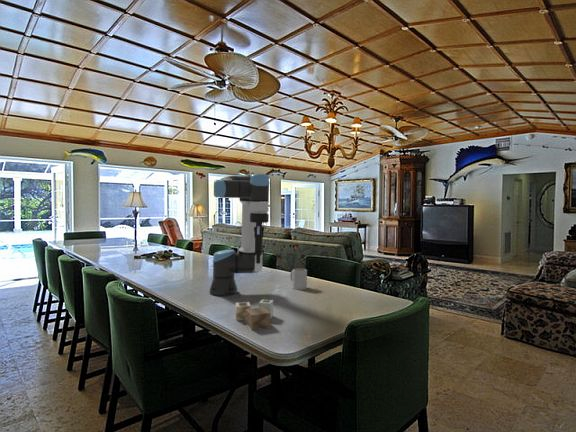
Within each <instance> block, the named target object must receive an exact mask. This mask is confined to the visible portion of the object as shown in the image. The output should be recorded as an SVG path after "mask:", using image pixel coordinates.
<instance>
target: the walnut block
mask: <svg viewBox="0 0 576 432" xmlns="http://www.w3.org/2000/svg"><path fill="white" fill-rule="evenodd" d="M271 319H272V318H271V313H270V312H269V311H268V310H266V309H265V308H264V307H262V308H259V307H255V308H251V309H246V316H245V320H244V323H245V324H247V325H248V326H249V327H250V328H251V329H255V330H259V328H262V329H268V328H267V327H269V328H271ZM247 325H246V326H247ZM248 326H247V327H248ZM249 327H248V328H249ZM250 328H249V329H250ZM251 329H250V330H251Z"/></svg>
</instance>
